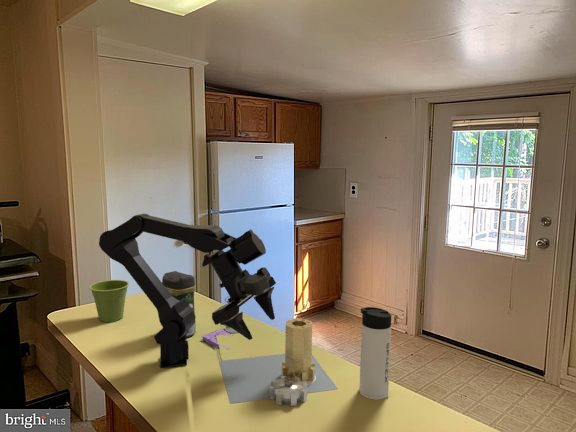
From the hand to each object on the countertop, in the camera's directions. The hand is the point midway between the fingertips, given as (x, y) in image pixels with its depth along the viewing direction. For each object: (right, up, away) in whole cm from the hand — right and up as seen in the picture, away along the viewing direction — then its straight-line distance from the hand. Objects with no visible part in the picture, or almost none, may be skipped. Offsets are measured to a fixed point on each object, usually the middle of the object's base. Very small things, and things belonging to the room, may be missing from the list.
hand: (262, 328), depth 105 cm
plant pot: (-51, -6, +35) cm, 62 cm away
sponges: (-12, -9, +17) cm, 23 cm away
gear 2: (+6, -11, -12) cm, 18 cm away
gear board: (+3, -11, -2) cm, 12 cm away
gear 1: (+9, -10, -4) cm, 14 cm away
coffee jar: (-26, -8, +23) cm, 36 cm away
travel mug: (+25, -13, -10) cm, 30 cm away
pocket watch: (-10, -8, +27) cm, 30 cm away
